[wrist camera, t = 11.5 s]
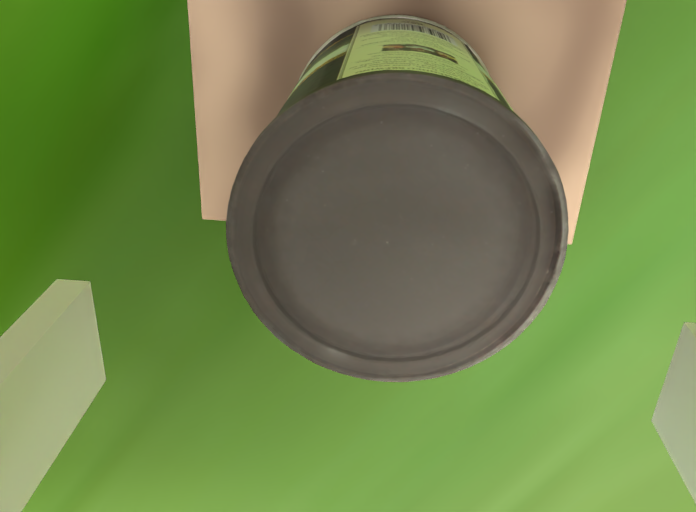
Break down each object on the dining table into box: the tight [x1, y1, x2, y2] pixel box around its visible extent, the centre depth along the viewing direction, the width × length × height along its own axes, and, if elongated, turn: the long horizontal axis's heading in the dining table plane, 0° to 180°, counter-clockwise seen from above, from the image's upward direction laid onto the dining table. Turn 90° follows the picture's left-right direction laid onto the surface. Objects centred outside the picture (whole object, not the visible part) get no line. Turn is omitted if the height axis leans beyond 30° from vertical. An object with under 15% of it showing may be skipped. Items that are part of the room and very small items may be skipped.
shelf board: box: [187, 0, 627, 244], centre depth 31 cm, size 20×14×5 cm
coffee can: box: [226, 15, 569, 382], centre depth 25 cm, size 10×10×14 cm
